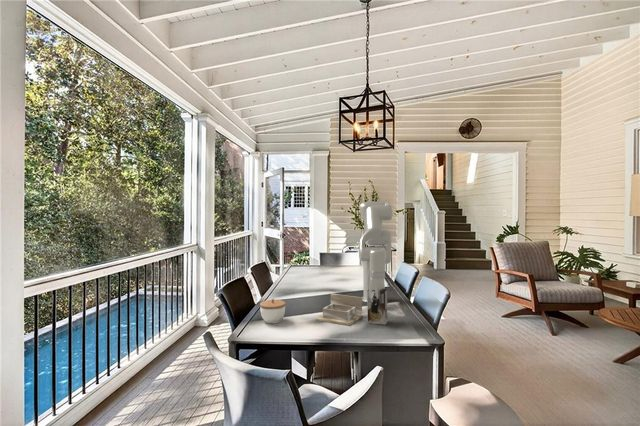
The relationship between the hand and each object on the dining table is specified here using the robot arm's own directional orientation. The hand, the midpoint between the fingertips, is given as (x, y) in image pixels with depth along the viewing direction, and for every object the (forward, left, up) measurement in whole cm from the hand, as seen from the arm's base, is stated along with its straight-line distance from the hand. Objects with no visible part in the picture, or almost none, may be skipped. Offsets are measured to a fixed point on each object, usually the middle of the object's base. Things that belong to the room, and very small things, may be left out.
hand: (377, 310), depth 177 cm
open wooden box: (+4, -19, -6) cm, 20 cm away
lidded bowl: (+24, -46, -6) cm, 52 cm away
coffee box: (0, 0, -6) cm, 6 cm away
